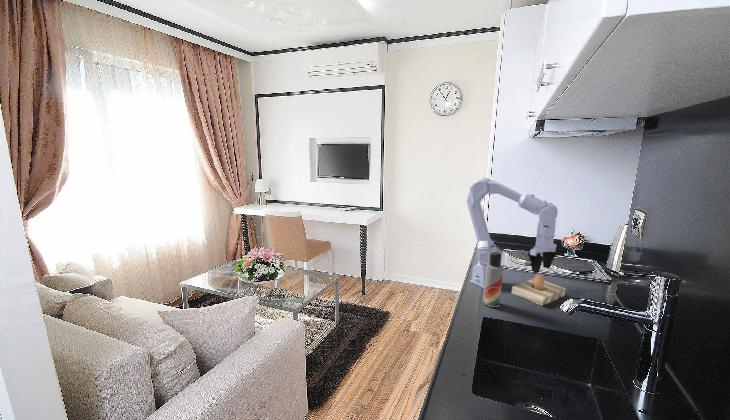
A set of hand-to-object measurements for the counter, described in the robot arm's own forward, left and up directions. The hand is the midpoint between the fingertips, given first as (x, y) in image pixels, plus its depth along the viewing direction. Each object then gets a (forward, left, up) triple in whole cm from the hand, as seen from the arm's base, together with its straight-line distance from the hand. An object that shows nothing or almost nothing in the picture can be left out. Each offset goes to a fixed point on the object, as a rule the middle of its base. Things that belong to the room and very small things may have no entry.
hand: (540, 269), depth 120 cm
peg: (0, 0, -10) cm, 10 cm away
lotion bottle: (-22, +5, -11) cm, 25 cm away
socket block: (0, 0, -10) cm, 10 cm away
